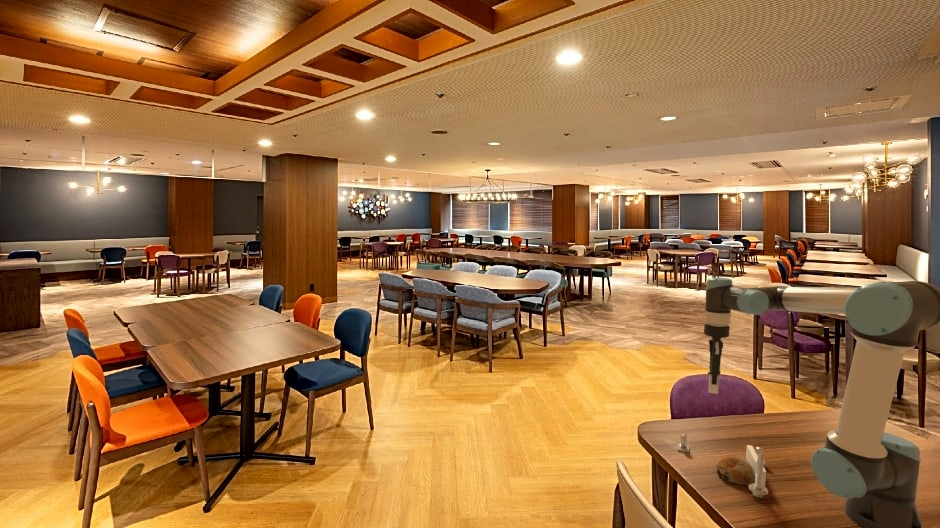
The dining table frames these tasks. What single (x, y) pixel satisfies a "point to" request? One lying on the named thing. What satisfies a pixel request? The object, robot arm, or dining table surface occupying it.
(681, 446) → the grey small pieces
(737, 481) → the bread roll
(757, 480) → the screw
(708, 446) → the dining table surface
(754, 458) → the gate
